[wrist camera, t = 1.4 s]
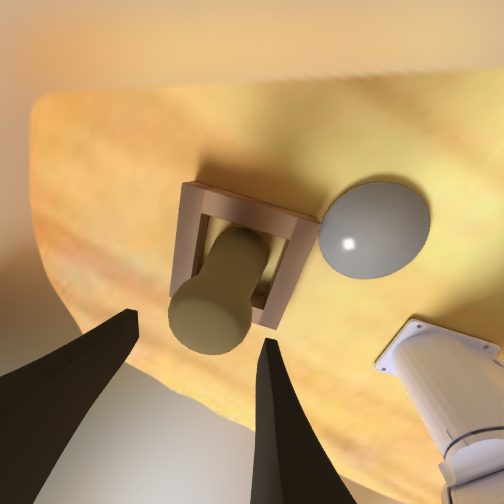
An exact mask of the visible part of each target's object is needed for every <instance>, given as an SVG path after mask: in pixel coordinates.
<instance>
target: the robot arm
mask: <svg viewBox="0 0 504 504" xmlns="http://www.w3.org/2000/svg"><path fill="white" fill-rule="evenodd" d="M417 325H418V326H417ZM138 338H139V326H138V311H136V310H131V309H125V310H123V311H122V312H120V313H118V314H117V315H115V316H113V317H112V318H110V319H109V320H107V321H105V322H104V323H102V324H100V325H99V326H97V327H95V328H94V329H92V330H90V331H89V332H87V333H85V334H84V335H82V336H80V337H79V338H77V339H75V340H73V341H71V342H70V343H68V344H66V345H64V346H62V347H61V348H59V349H57V350H55V351H53V352H51V353H50V354H48V355H46V356H44V357H42V358H40V359H38V360H36V361H33V362H32V363H29V364H27V365H26V366H23V367H21V368H19V369H17V370H15V371H13V372H10V373H8V374H6V375H3V376H1V377H0V504H33V503H34V501H35V499H36V497H37V495H38V494H39V492H40V490H41V488H42V487H43V485H44V483H45V481H46V480H47V478H48V476H49V475H50V473H51V471H52V469H53V468H54V466H55V464H56V462H57V460H58V459H59V457H60V456H61V454H62V452H63V451H64V449H65V447H66V446H67V444H68V442H69V441H70V439H71V438H72V436H73V434H74V432H75V431H76V429H77V428H78V426H79V425H80V423H81V421H82V420H83V418H84V417H85V415H86V414H87V412H88V410H89V408H91V406H92V405H93V403H94V402H95V400H96V399H97V398H98V396H99V395H100V394H101V392H102V391H103V389H104V388H105V387H106V385H107V384H108V383H109V381H110V380H111V379H112V377H113V376H114V375H115V373H116V372H117V371H118V369H119V368H120V367H121V365H122V364H123V362H124V361H125V360H126V358H127V357H128V355H129V354H130V352H131V351H132V349H133V347H134V345H135V344H136V342H137V340H138ZM500 351H501V348H500V347H499V346H498V345H497V344H494V343H491V342H488V341H485V340H481V339H478V338H475V337H472V336H468V335H465V334H462V333H459V332H455V331H452V330H449V329H446V328H442V327H439V326H436V325H433V324H430V323H426V322H423V321H420V320H417V319H411V320H409V321H408V322H407V323H406V325H405V326H404V327H403V328H402V330H401V331H400V332H399V333H398V335H397V336H396V337H395V338H394V340H393V341H392V342H391V344H390V345H389V346H388V347H387V349H386V350H385V351H384V352H383V354H382V355H381V356H380V357H379V359H378V360H377V361H376V362H375V364H374V367H375V369H376V370H378V371H381V372H384V373H388V374H391V375H394V376H397V377H399V379H400V381H401V383H402V384H403V386H404V388H405V390H406V392H407V393H408V395H409V397H410V399H411V401H412V402H413V404H414V406H415V408H416V410H417V411H418V413H419V415H420V417H421V419H422V421H423V422H424V424H425V426H426V428H427V430H428V431H429V433H430V435H431V437H432V439H433V440H434V442H435V444H436V446H437V448H438V449H439V451H440V453H441V455H442V457H443V458H444V461H443V462H442V463H440V464H438V468H439V469H440V471H441V473H442V475H443V477H444V479H445V481H446V484H445V485H444V486H443V487H442V490H441V499H442V504H504V362H503V361H502V360H500V359H499V358H498V357H497V356H496V354H497V353H499V352H500ZM255 435H256V436H255V452H254V466H253V478H252V490H251V501H250V504H357V503H356V501H355V500H354V498H353V497H352V495H351V494H350V492H349V491H348V489H347V487H346V486H345V484H344V483H343V481H342V480H341V478H340V476H339V475H338V473H337V472H336V470H335V468H334V466H333V465H332V463H331V461H330V460H329V458H328V456H327V454H326V453H325V451H324V449H323V448H322V446H321V444H320V442H319V441H318V439H317V437H316V435H315V433H314V431H313V429H312V427H311V425H310V423H309V421H308V419H307V417H306V415H305V413H304V411H303V409H302V407H301V405H300V403H299V400H298V398H297V396H296V393H295V391H294V389H293V386H292V384H291V381H290V378H289V376H288V373H287V371H286V368H285V365H284V362H283V359H282V356H281V352H280V349H279V345H278V342H277V340H274V339H270V338H265V341H264V344H263V347H262V350H261V353H260V356H259V359H258V364H257V374H256V433H255Z"/></svg>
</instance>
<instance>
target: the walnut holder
mask: <svg viewBox="0 0 504 504" xmlns="http://www.w3.org/2000/svg"><path fill="white" fill-rule="evenodd" d="M209 215H210V216H213V217H216V218H220V219H223V220H226V221H230V222H233V223H236V224H239V225H243V226H246V227H249V228H253V229H256V230H259V231H262V232H266V233H269V234H272V235H276V236H279V237H282V238H285V239H286V241H285V244H284V246H283V249H282V252H281V255H280V257H279V260H278V263H277V266H276V268H275V271H274V274H273V277H272V279H271V282H270V285H269V288H268V290H267V293H266V296H264V295H261V294H258V293H254V292H253V294H252V296H251V298H250V301H251V304H252V310H253V312H252V323H255V324H258V325H261V326H265V327H268V328H271V329H274V330H277V327H278V325H279V323H280V320H281V318H282V316H283V313H284V311H285V309H286V306H287V304H288V302H289V299H290V297H291V295H292V292H293V290H294V288H295V286H296V283H297V281H298V279H299V276H300V274H301V272H302V269H303V267H304V265H305V262H306V260H307V258H308V255H309V253H310V251H311V248H312V246H313V244H314V242H315V239H316V237H317V235H318V232H319V230H320V228H321V223H320V222H319V220H318V219H317V218H316V217H312V216H309V215H306V214H302V213H299V212H296V211H292V210H289V209H286V208H282V207H279V206H276V205H272V204H269V203H266V202H262V201H259V200H256V199H252V198H249V197H246V196H242V195H239V194H236V193H232V192H229V191H226V190H222V189H219V188H216V187H212V186H209V185H206V184H202V183H199V182H196V181H191V182H184V183H182V187H181V196H180V205H179V214H178V223H177V232H176V241H175V250H174V259H173V268H172V277H171V286H170V295H169V296H170V297H173V295H174V293H175V292H176V291H177V290H178V288H179V287H180V286H181V285H182V284H183V283H184V282H185V281H187V280H188V279H190V278H192V277H194V276H196V275H198V274H199V271H200V265H201V259H202V254H203V248H204V243H205V237H206V231H207V226H208V220H209Z"/></svg>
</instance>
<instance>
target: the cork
mask: <svg viewBox="0 0 504 504" xmlns="http://www.w3.org/2000/svg"><path fill="white" fill-rule="evenodd" d="M268 256H269V254H268V249H267V246H266V244H265V242H264V241H263V239H262V238H261V237H260V236H259V235H258V234H256V233H255V232H253V231H251V230H249V229H247V228H239V227H236V228H231V229H227V230H226V231H224V232H222V233H221V234H220V235H219V236H218V237H217V239H216V240H215V242H214V244H213V246H212V248H211V250H210V252H209V254H208V256H207V258H206V260H205V262H204V264H203V266H202V268H201V270H200V272H199V274H198V275H196V276H194V277H192V278H190V279H188V280H187V281H185V282H184V283H183V284H182V285H181V286H180V287H179V288H178V290H177V291H176V292H175V293H174V295H173V297H172V299H171V302H170V306H169V309H168V318H169V326H170V328H171V330H172V332H173V334H174V336H175V337H176V338H177V339H178V340H179V341H180V342H181V343H182V344H183V345H185V346H186V347H187V348H189V349H191V350H193V351H196V352H198V353H201V354H207V355H221V354H224V353H227V352H230V351H231V350H233V349H234V348H235V347H236V346H238V345H239V344H240V343H241V342H243V340H244V338H245V336H246V335H247V333H248V331H249V329H250V327H251V322H252V312H253V310H252V304H251V301H250V298H251V296H252V294H253V292H254V290H255V288H256V286H257V283H258V281H259V279H260V277H261V275H262V273H263V271H264V269H265V267H266V265H267V263H268Z"/></svg>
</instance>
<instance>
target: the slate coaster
mask: <svg viewBox="0 0 504 504" xmlns="http://www.w3.org/2000/svg"><path fill="white" fill-rule="evenodd" d="M429 230H430V216H429V211H428V209H427V206H426V204H425V203H424V201H423V199H422V198H421V197H420V196H419V195H418V194H417V193H416V192H414V191H413V190H411V189H409V188H408V187H405V186H403V185H400V184H395V183H389V182H373V183H367V184H364V185H360V186H358V187H355V188H353V189H351V190H349V191H347V192H346V193H344V194H343V195H341V196H340V197H339V198H338V199H337V200H336V201H334V202H333V204H332V205H331V206H330V207H329V208H328V210H327V211H326V213H325V215H324V217H323V219H322V221H321V228H320V230H319V234H318V240H319V246H320V250H321V252H322V255H323V257H324V258H325V260H326V262H327V263H328V264H329V265H330V266H331V267H332V268H333V269H334V270H336V271H337V272H339V273H341V274H342V275H345V276H347V277H351V278H355V279H375V278H381V277H384V276H387V275H390V274H392V273H394V272H396V271H398V270H400V269H402V268H403V267H405V266H406V265H407V264H409V263H410V262H411V261H412V260H413V259H414V258H415V257H416V256H417V255H418V253H419V252H420V251H421V249H422V248H423V246H424V244H425V242H426V240H427V238H428V234H429Z"/></svg>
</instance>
